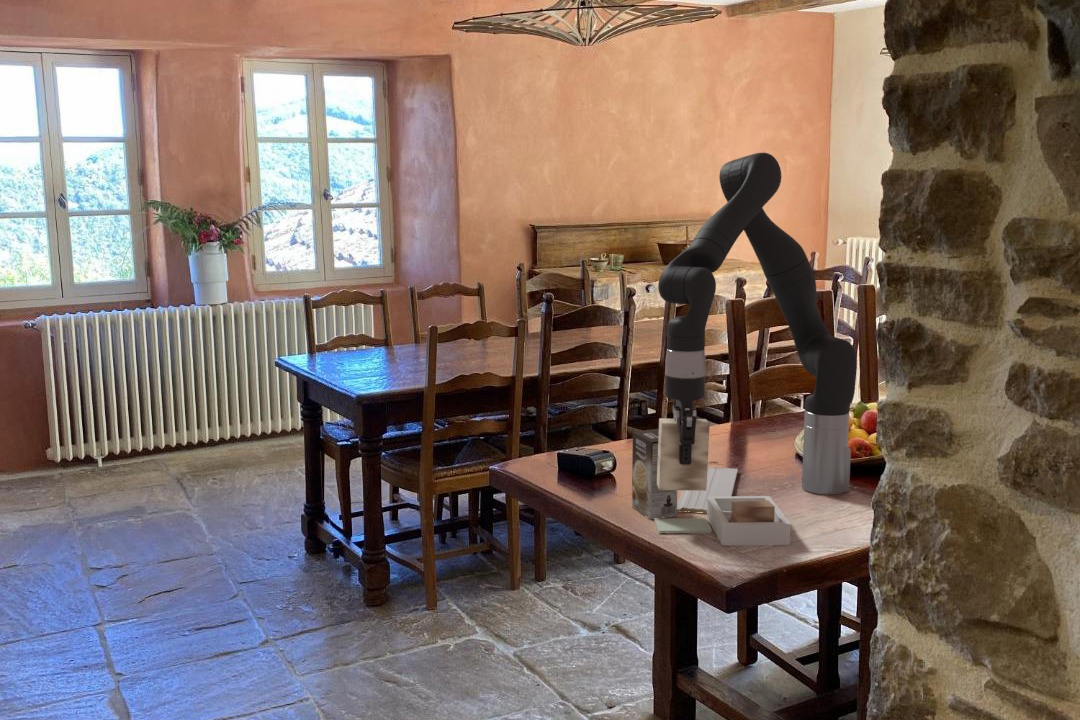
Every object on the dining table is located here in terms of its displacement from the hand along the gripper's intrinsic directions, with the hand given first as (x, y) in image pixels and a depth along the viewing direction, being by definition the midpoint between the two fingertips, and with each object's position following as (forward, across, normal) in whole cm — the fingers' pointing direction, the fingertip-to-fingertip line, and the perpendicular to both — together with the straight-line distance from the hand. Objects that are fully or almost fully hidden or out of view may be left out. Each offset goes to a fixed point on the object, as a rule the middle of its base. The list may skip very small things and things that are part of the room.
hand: (683, 460), depth 198 cm
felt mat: (+13, 0, 0) cm, 13 cm away
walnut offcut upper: (+10, -7, -12) cm, 17 cm away
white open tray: (+13, -2, -12) cm, 18 cm away
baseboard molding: (+14, +24, -8) cm, 29 cm away
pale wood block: (+5, 0, 0) cm, 5 cm away
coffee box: (+14, +10, +4) cm, 17 cm away
